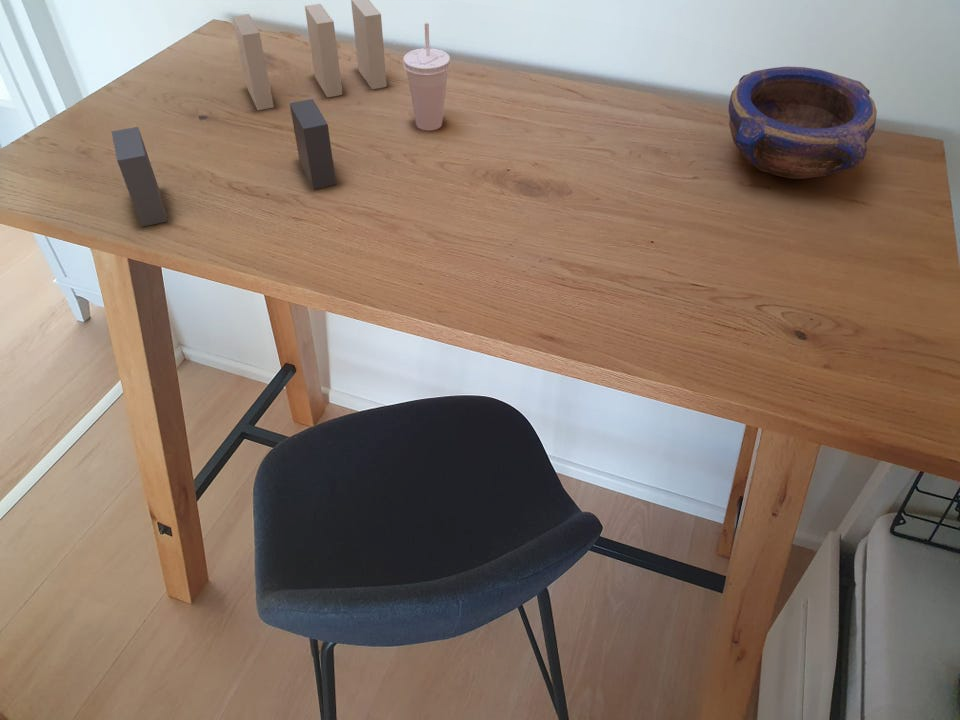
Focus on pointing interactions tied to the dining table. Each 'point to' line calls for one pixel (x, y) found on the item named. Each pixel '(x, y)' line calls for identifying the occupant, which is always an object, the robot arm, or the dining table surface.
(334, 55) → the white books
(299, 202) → the dining table surface
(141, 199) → the grey books
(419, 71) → the smoothie
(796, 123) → the bowl
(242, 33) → the beige rectangular block
